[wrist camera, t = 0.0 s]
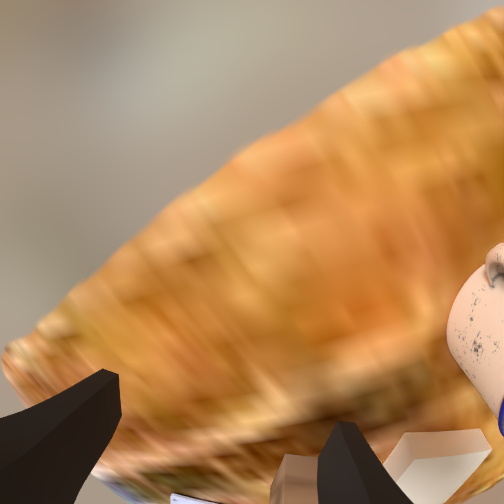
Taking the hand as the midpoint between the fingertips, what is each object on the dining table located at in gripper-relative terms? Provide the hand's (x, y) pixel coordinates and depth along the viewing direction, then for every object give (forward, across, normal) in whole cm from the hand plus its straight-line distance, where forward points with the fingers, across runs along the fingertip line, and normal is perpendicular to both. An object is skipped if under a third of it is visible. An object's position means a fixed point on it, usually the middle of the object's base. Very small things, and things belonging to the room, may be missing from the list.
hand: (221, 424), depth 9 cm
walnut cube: (+10, -8, +16) cm, 21 cm away
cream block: (+10, -19, +14) cm, 26 cm away
